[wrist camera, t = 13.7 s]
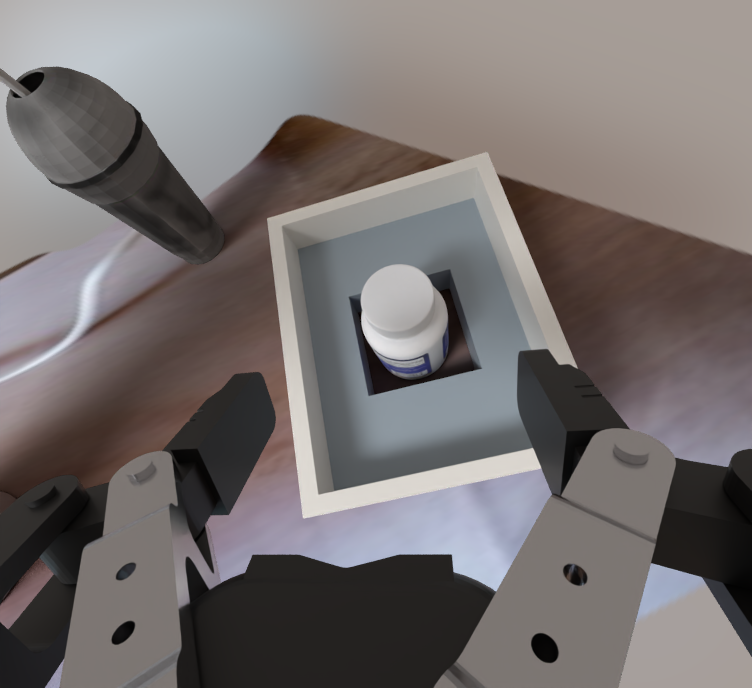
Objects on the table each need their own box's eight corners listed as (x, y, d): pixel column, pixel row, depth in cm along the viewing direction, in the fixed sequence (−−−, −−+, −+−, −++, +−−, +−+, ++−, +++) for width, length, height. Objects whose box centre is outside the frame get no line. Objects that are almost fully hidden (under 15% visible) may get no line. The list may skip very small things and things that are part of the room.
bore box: (335, 506, 25) (303, 518, 19) (298, 261, 32) (267, 218, 26) (572, 455, 23) (612, 453, 18) (479, 209, 30) (487, 151, 24)
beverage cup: (243, 208, 35) (11, -89, 16) (230, 276, 33) (-58, 22, 14) (177, 214, 36) (-109, -54, 17) (160, 279, 34) (-190, 52, 15)
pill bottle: (408, 302, 29) (392, 236, 20) (462, 341, 27) (469, 285, 19) (364, 352, 28) (329, 305, 20) (417, 395, 26) (402, 362, 18)
